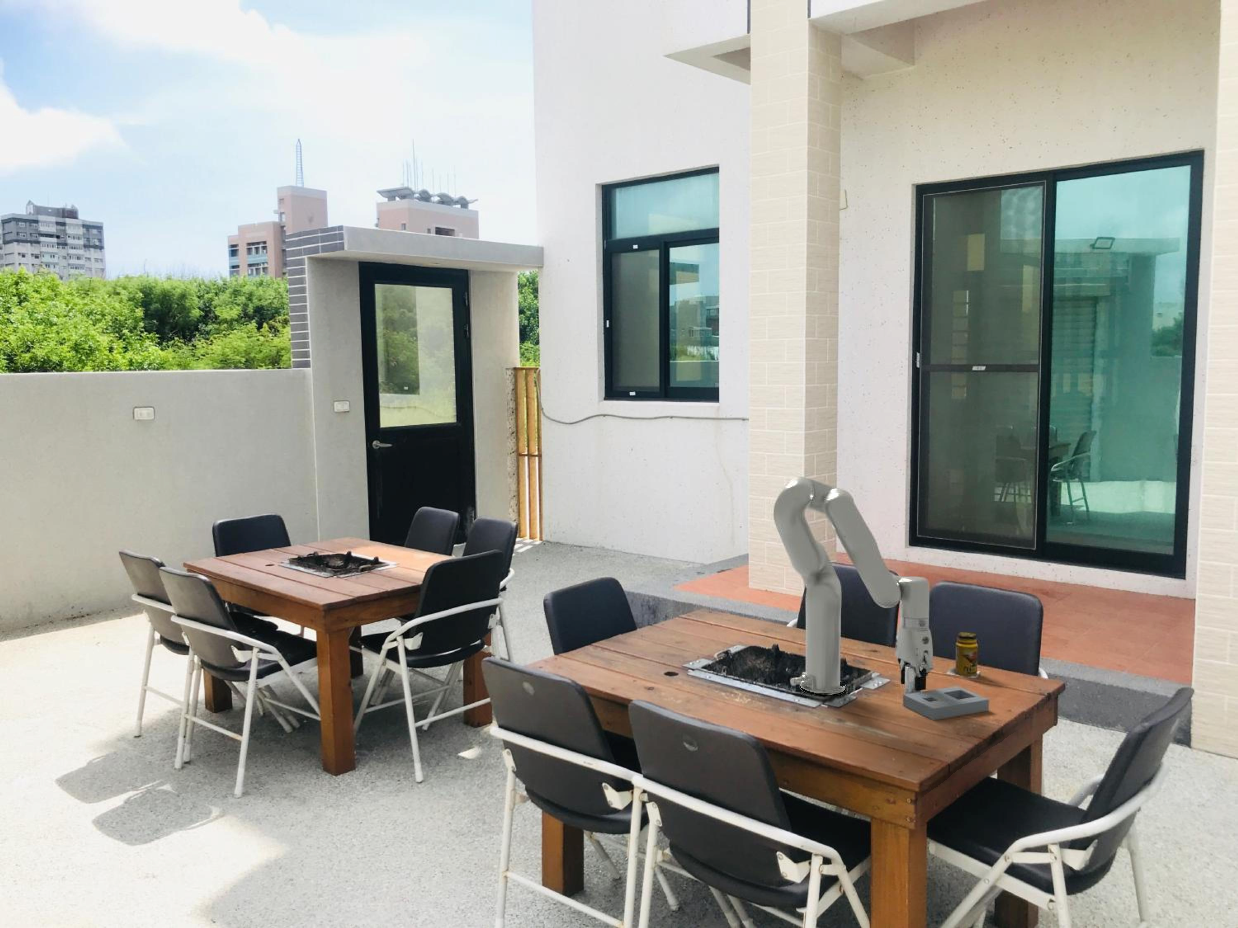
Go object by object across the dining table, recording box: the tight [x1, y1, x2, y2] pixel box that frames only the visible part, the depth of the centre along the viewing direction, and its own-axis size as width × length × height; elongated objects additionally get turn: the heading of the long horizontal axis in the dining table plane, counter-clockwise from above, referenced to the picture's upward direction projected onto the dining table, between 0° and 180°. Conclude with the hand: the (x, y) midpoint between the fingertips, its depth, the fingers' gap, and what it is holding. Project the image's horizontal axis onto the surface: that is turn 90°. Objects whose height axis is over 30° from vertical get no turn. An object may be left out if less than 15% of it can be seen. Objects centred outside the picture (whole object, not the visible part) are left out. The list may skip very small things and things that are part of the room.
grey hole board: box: [902, 685, 990, 721], centre depth 256 cm, size 18×12×3 cm, turn 112°
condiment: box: [945, 631, 981, 679], centre depth 285 cm, size 7×8×12 cm
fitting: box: [904, 664, 923, 694], centre depth 267 cm, size 4×4×8 cm
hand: (913, 685), depth 267 cm, fingers open, 5 cm apart
